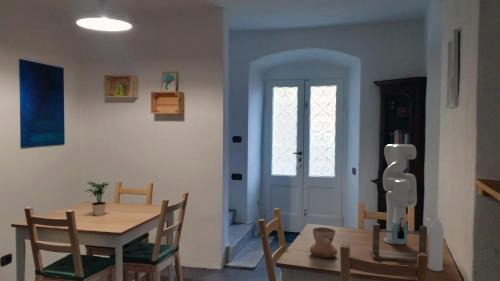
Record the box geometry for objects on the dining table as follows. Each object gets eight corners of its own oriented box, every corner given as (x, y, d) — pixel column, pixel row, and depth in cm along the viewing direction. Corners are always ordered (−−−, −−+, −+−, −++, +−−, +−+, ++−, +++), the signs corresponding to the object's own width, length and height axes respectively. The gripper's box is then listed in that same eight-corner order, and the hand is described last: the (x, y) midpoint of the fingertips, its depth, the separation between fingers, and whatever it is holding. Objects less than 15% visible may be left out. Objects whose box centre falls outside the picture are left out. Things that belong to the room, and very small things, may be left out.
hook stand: (370, 252, 223) (370, 221, 222) (423, 255, 219) (424, 223, 218) (373, 259, 211) (374, 226, 211) (429, 263, 207) (430, 229, 206)
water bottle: (438, 266, 201) (440, 217, 201) (444, 271, 195) (446, 220, 194) (421, 266, 202) (422, 217, 201) (426, 271, 195) (428, 220, 194)
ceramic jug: (340, 261, 208) (341, 233, 208) (312, 260, 207) (313, 233, 207) (332, 251, 226) (333, 225, 226) (306, 250, 225) (307, 225, 225)
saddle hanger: (391, 238, 218) (392, 220, 218) (404, 239, 217) (404, 221, 217) (393, 241, 212) (394, 223, 212) (406, 242, 211) (407, 223, 211)
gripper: (389, 200, 223) (388, 232, 224) (396, 206, 206) (395, 241, 207) (403, 200, 222) (402, 233, 223) (411, 207, 205) (410, 242, 206)
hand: (399, 236), depth 215 cm, fingers closed on saddle hanger, 6 cm apart
